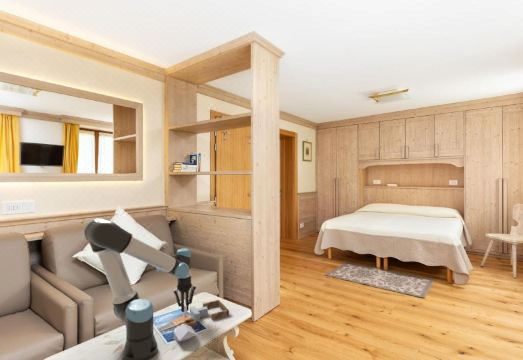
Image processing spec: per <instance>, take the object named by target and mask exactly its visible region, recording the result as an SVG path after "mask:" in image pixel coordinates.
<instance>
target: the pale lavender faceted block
mask: <svg viewBox="0 0 523 360" xmlns="http://www.w3.org/2000/svg"><path fill="white" fill-rule="evenodd" d="M195 336H198V334H197V333H196V331H195V330H194V329H193V327H192V326H191V325H187V324H185V323H182V324H181V325H179V326H177V327H175V328H174V330H173V339H174V341H175V342H186V341H188V340H189V339H191V338H192V337H195Z"/></svg>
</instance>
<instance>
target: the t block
mask: <svg viewBox="0 0 523 360" xmlns="http://www.w3.org/2000/svg"><path fill="white" fill-rule="evenodd" d="M189 316H190V317H191V318H192V320H193V321H194V322H199V321H201V318H202V317H203V318H204V317H205V316H206V317H207V316H209V308H207V307H203V306H202V307H198V308H196V306H192V307H189Z"/></svg>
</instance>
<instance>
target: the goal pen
mask: <svg viewBox="0 0 523 360" xmlns="http://www.w3.org/2000/svg"><path fill="white" fill-rule="evenodd" d="M202 307H207V308H208V309H210V308H213V307H218V308H219V309H220V310H221V311H217V312H213V313H211V315H210V316H211V320H212V321H213V320H214V321H215V320H217V319H221V318H224V317H227V316H228V317H229V316H230V309H228V308H227V306H225V305H224V304H223V302H222V301H220V300H219V299H215V300H213V301H212V300H211V301H208V302H203V303H202Z"/></svg>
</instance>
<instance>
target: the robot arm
mask: <svg viewBox="0 0 523 360" xmlns="http://www.w3.org/2000/svg"><path fill="white" fill-rule="evenodd" d="M83 232H84V238H85V239H86V241H88V243H89V245H90V248H91V251H92V252H93V253H94V254H95V253H96V254H97V255H98V258H99V261H100V263H101V266H102V269H103V271H104V274H105V277H106V279H107V282H108V284H109V287H110V289H111V293H112V295H113V297H112V300H111V303H112V305H113V312H114V315H115V316H116V318H118V319H119V320H120V321H121V322H122V323H123V324H124V326H125V328H126V329H125V332H126V333H125V334H126V341H125V344H124V346H123V350H122V360H151V359H152V358H153V357H155V356H156V355H157V353H158V347H159V345H158V342H157V340H156V337H155V335H154V334H155V333H154V304H153V303H152V301H151V300H149V299H144V298H140V295H139V293H138V289H136V288H134V287H132V284H131V280H130V277H129V275H128V273H127V269H126V267H125V264H124V262H123V259H122V255H121V254H123V253H124V254H126V255H127V256H130V257H132V258H134V259H136V260H140V261H141V262H144V263H146V264H148V265H149V266H152V267H154V268H155V269H156V271H157V272H158V273H165V272H166V273H167V274H170V275H172V276H174V277H176V279H177V285H176V288H175V289H173V290H172V292H173V293H174V295H175V296H174V297H175V299H176V303H177V306H178V307H180V310H181V312H182V316H183V319H186V318H188V311H189V306H190V304H192V303H193V298H194V295H195V291H196V288H197V287H196V285H193V284H192V254H191V250H190V248H187V247H186V248H185V247H184V248H180V249H179V248H178V249H177V251H176V253H175V254H172V255H169V254H167V253H165V252H163V251H161V250H159V249H157V248H155V247H153V246H151V245H149V244H147V243H146V242H144V241H141V240H139V239H137V238H135V237H134V236H133V234H132V233H131V232H128V230H125V229H124V228H123V227H121V226H120V225H118V224H117V223H115V222H113V221H110V220H109V219H107V218H103V217H102V218H100V217H99V218H95V219H91V220H90V221H89V222H88V223H87V224H86V225H85V227H84V230H83ZM189 291H190V293H189ZM178 292H179V293H180V297H179V293H178Z"/></svg>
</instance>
